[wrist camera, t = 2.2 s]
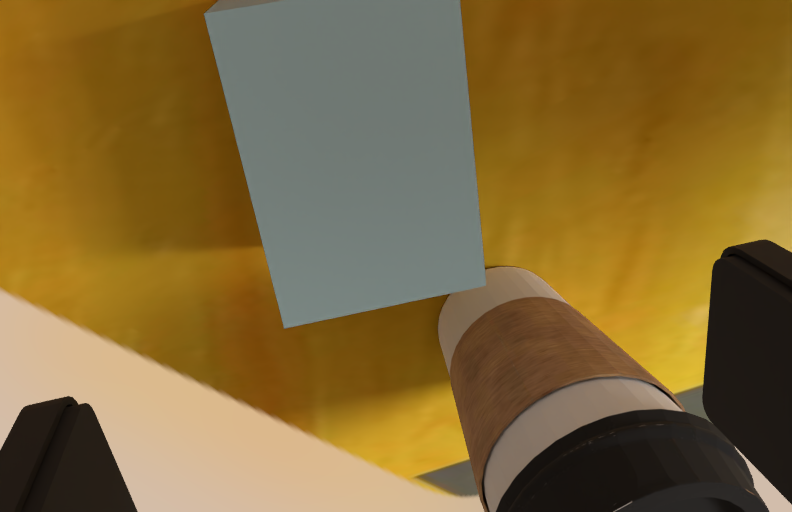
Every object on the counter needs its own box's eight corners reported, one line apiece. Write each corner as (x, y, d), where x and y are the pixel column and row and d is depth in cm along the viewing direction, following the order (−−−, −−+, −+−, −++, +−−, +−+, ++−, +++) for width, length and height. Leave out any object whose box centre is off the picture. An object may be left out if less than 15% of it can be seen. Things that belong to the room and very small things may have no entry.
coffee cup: (476, 209, 29) (652, 429, 16) (613, 287, 32) (860, 528, 19) (377, 354, 31) (457, 656, 18) (514, 414, 34) (670, 711, 21)
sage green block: (409, -34, 24) (457, -28, 18) (439, 213, 29) (486, 285, 23) (221, -3, 24) (203, 13, 18) (281, 245, 28) (284, 328, 22)
